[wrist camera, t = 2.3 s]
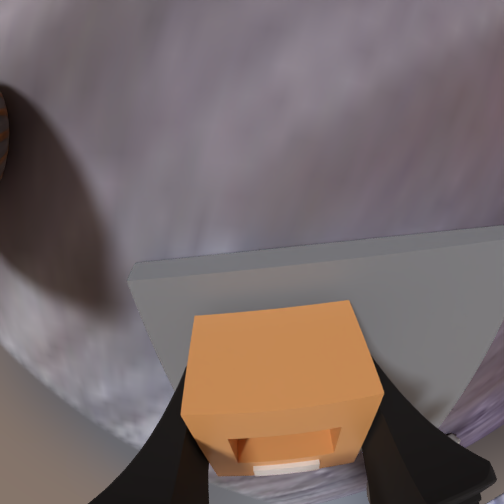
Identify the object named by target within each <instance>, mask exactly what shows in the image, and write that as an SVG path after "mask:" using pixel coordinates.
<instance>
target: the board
mask: <svg viewBox="0 0 504 504" xmlns="http://www.w3.org/2000/svg"><path fill="white" fill-rule="evenodd" d="M127 283H128V286H129V288H130V291H131V294H132V296H133V299H134V301H135V304H136V306H137V309H138V311H139V314H140V316H141V319H142V321H143V324H144V326H145V328H146V331H147V333H148V335H149V338H150V340H151V342H152V344H153V347H154V349H155V351H156V353H157V356H158V358H159V360H160V362H161V364H162V366H163V368H164V371H165V373H166V375H167V377H168V379H169V381H170V383H171V385H172V387H173V389H174V391H175V390H176V388H177V386H178V384H179V382H180V379H181V377H182V375H183V372H184V370H185V367H186V366H187V362H188V355H189V349H190V342H191V335H192V329H193V323H194V316H198V315H212V314H224V313H236V312H247V311H258V310H268V309H278V308H287V307H296V306H305V305H313V304H321V303H329V302H337V301H344V300H349V301H350V304H351V306H352V309H353V311H354V314H355V316H356V318H357V321H358V323H359V326H360V329H361V331H362V334H363V336H364V339H365V341H366V344H367V347H368V349H369V352H370V354H371V355H372V357H373V358H374V360H375V361H376V362H377V364H378V365H379V366H380V368H381V369H382V370H383V372H384V373H385V374H386V375H387V377H388V378H389V379H390V380H391V382H392V383H393V384H394V385H395V386H396V387H397V389H398V390H399V391H400V392H401V393H402V394H403V396H404V397H405V398H406V399H407V400H408V401H409V402H410V403H411V404H412V405H413V406H414V407H415V408H416V409H417V410H418V411H419V412H420V413H421V414H422V415H423V416H424V417H425V418H426V419H427V420H428V421H430V422H431V423H432V424H433V425H434V426H435V427H437V428H439V426H440V425H441V424H442V422H443V421H444V419H445V418H446V417H447V415H448V414H449V412H450V411H451V410H452V408H453V407H454V405H455V404H456V402H457V401H458V399H459V398H460V396H461V395H462V393H463V392H464V390H465V389H466V387H467V385H468V384H469V382H470V381H471V379H472V377H473V376H474V374H475V372H476V371H477V369H478V367H479V365H480V364H481V362H482V360H483V358H484V357H485V355H486V353H487V351H488V349H489V347H490V346H491V344H492V342H493V340H494V338H495V336H496V334H497V332H498V330H499V328H500V326H501V324H502V321H503V319H504V225H501V226H491V227H481V228H471V229H461V230H451V231H441V232H431V233H422V234H412V235H402V236H392V237H382V238H373V239H363V240H353V241H343V242H333V243H324V244H314V245H304V246H294V247H285V248H275V249H265V250H256V251H246V252H236V253H227V254H217V255H207V256H198V257H188V258H178V259H169V260H159V261H149V262H140V263H135V265H134V267H133V269H132V271H131V273H130V275H129V277H128V279H127ZM360 451H362V448H360Z"/></svg>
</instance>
